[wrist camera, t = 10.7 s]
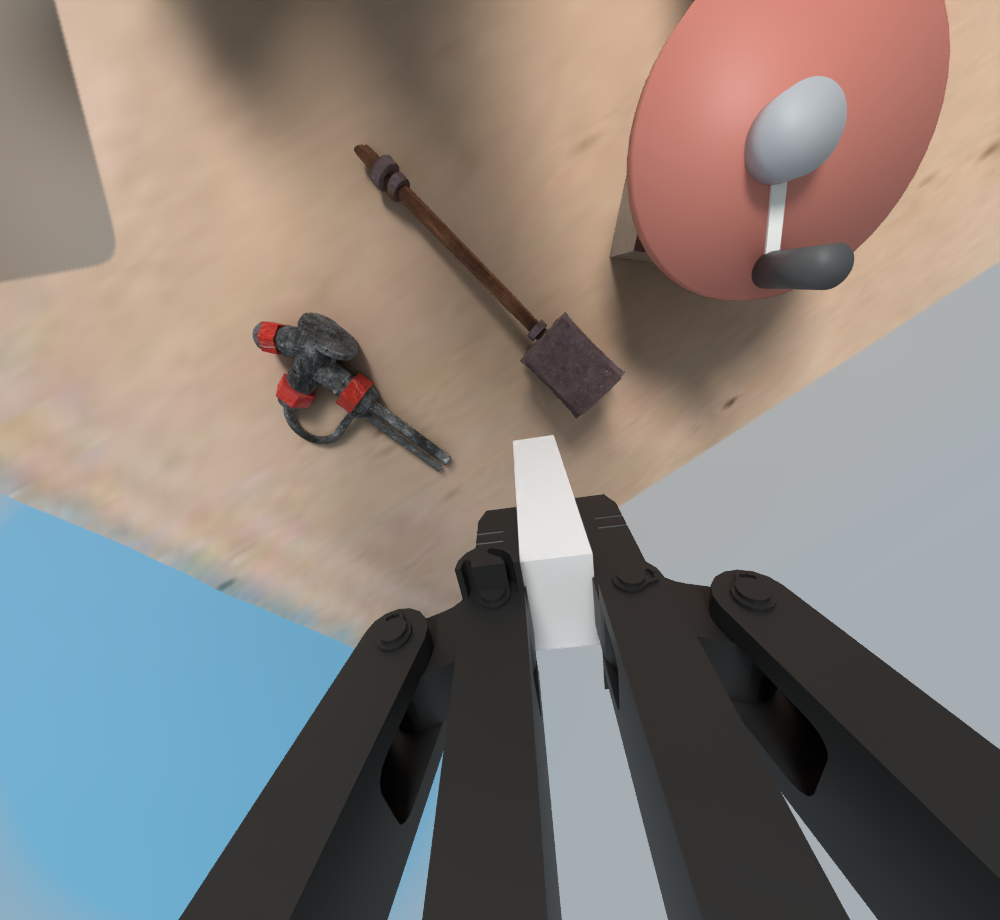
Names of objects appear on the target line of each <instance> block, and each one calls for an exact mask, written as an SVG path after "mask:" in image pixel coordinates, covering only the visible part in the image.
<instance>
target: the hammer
mask: <svg viewBox="0 0 1000 920" xmlns="http://www.w3.org/2000/svg"><path fill="white" fill-rule="evenodd" d="M354 151H355V153H356V154H357V155H358V157H359V158H360V159H361V160H362V161H363V162H364V163H365V164H366V165H367V166H368V167H369V168H370V169H371V176H370V177H371V181H372V182H373V183H374V185H375V186H376V187H377V188H378V189H379V190H380V191H382V192H386V191H387V193H388V195H389V196H390V197H391V198H392V200H394V201H395V202H400V201H402V202H403V203H404V204H405V205H406V206H407V207H408V208H409V209H410V210H411V211H412V212H413V214H414V215H415V216H416V217H417V218H418V219H419V220H420V221H421V222H422V223H423V224H424V225H425V226H426V227H427V228H428V229H429V230H430V231H431V232H432V233H433V234H434V235H435V236H436V237H437V238H438V239H439V240H440V241H441V242H442V243H443V244H444V245H445V246H446V247H447V248H448V249H449V250H450V251H451V252H452V253H453V254H454V255H455V256H456V257H457V258H458V260H459V261H460V262H461V263H462V264H463V265H464V266H465V267H466V268H467V269H468V270H469V271H470V272H471V273H472V274H473V275H474V276H475V277H476V278H477V279H478V280H479V281H480V282H481V283H482V284H483V285H484V286H485V287H486V288H487V289H488V290H489V291H490V292H491V293H492V294H493V295H494V296H495V297H496V298H497V299H498V300H499V301H500V303H501V304H502V305H503V306H504V307H505V308H506V309H507V310H508V311H509V312H511V313H512V314H513V315H514V316H515V317H516V318H517V319H518V320H519V321H520V322H521V323H522V324H523V325H524V327H525V328H526V329H527V330H528V331H529V333H528V335H527V337H528V338H529V339H530V340H531V341H534V340H535V339H537V342H536V343H535V345H534V346H533V347H532V348H531V349H529V350H528V351H527V352H526V355H525V356H524V357H523V358H522V359H521V360H520V361H521V362H522V363H523V364H525V365H526V366H527V367H528V368H530V369H531V370H532V371H533V372H534V373H535V374H536V375H537V376H538V377H539V378H540V379H541V380H542V381H543V382H544V383H545V384H546V385H547V386H548V387H549V388H550V389H551V390H552V392H553V393H554V394H555V395H556V396H557V397H558V398H559V399H560V400H561V401H562V402H563V403H564V404H565V406H566V407H567V408H568V409H569V410H570V411H571V412H572V414H573V415H574V416H575V418H577V417H579V416H580V415H582V414H583V413H585V412H586V411H587V410H588V409H589V408H590V407H592V406H593V405H594V404H595V403H596V402H597V401H598V400H599V399H600V398H601V397H602V396H603V395H605V394H606V393H607V392H608V391H609V390H610V389H611V388H612V387H613V386H614V385H615V384H616V383H617V382H618V381H619V380H620V379H621V376H622V375H623V374H624V373H625V372H624V371H623V370H621V369H620V368H618V367H617V366H616V365H615V364H614V363H613V362H612V361H611V360H610V359H609V358H608V357H607V356H605V354H604V353H603V352H602V351H601V350H600V349H599V348H598V347H596V346H595V345H594V344H593V342H592V341H591V340H590V339H589V338H588V337H587V336H586V335H585V334H584V333H583V332H582V331H581V330H580V329H579V328H578V327H577V326H576V325H575V323H574V322H573V321H572V320H571V319H570V317H569V316H568V314H567V313H566V312H565V313H564V314H563V315H562V316H561V317H560V318H559V319H557V320H556V321H555V322H554V323H553V326H552V327H551V328H550V329H548V330H546V329H545V328H546V326H547V325H546V324H545V323H544V322H543V321H542V320H541V321H539V322H538V321H537V320H536V319H535V318H534V316H533V315H532V314H531V313H530V312H529V311H528V310H527V309H526V308H525V307H524V306H523V305H522V304H521V303H520V302H519V301H518V300H517V299H516V297H515V296H514V295H513V294H512V293H511V292H510V291H509V290H508V289H507V288H506V287H505V286H504V285H503V284H502V283H501V282H500V281H499V280H498V279H497V278H496V277H495V276H494V275H493V274H492V273H491V272H490V271H489V270H488V269H487V268H486V267H485V265H484V264H483V263H482V262H481V261H480V260H479V259H478V258H477V257H476V256H475V255H474V254H473V253H472V252H471V251H470V250H469V249H468V248H467V247H466V246H465V245H464V244H463V243H462V242H461V241H460V239H459V238H458V237H457V236H456V235H455V234H454V233H453V232H452V231H451V230H450V229H449V228H448V227H447V226H446V225H445V224H444V223H443V222H442V221H441V220H440V219H439V218H438V217H437V216H436V215H435V214H434V213H433V212H432V210H431V209H430V208H429V207H428V206H427V205H426V204H425V203H424V202H423V201H422V200H421V199H420V198H419V197H418V196H417V195H416V194H415V193H414V192H413V191H412V190H411V189H410V183H409V180H408V179H407V178H406V177H405V176H404V175H403V174H402V173H401V172H399V166H398V165H397V163H396V162H395V161H394V160H393V159H392V158H391V156H389V155H383V156H381V157H379V156H378V155H377V154H376V153H375V152H374V151H373V150H372V149H371V148H370V147H369V146H368V145H357V146H356V147H355V148H354Z"/></svg>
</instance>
